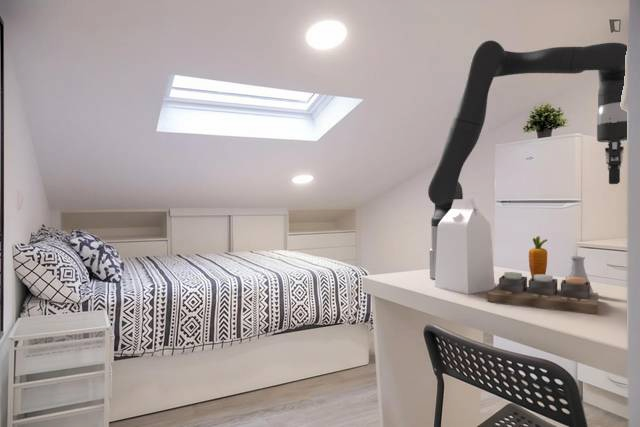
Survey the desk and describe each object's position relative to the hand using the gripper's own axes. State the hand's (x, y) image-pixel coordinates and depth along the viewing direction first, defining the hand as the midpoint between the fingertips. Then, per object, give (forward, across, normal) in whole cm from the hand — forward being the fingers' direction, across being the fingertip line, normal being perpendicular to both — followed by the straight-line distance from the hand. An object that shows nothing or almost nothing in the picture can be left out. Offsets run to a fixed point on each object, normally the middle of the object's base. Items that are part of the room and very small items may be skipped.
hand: (614, 183), depth 109 cm
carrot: (+30, +1, -18) cm, 35 cm away
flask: (+30, +5, -8) cm, 31 cm away
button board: (+29, +19, -15) cm, 38 cm away
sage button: (+25, +17, -22) cm, 37 cm away
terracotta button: (+25, +17, -8) cm, 31 cm away
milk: (+30, +12, -36) cm, 48 cm away
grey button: (+25, +17, -15) cm, 34 cm away
